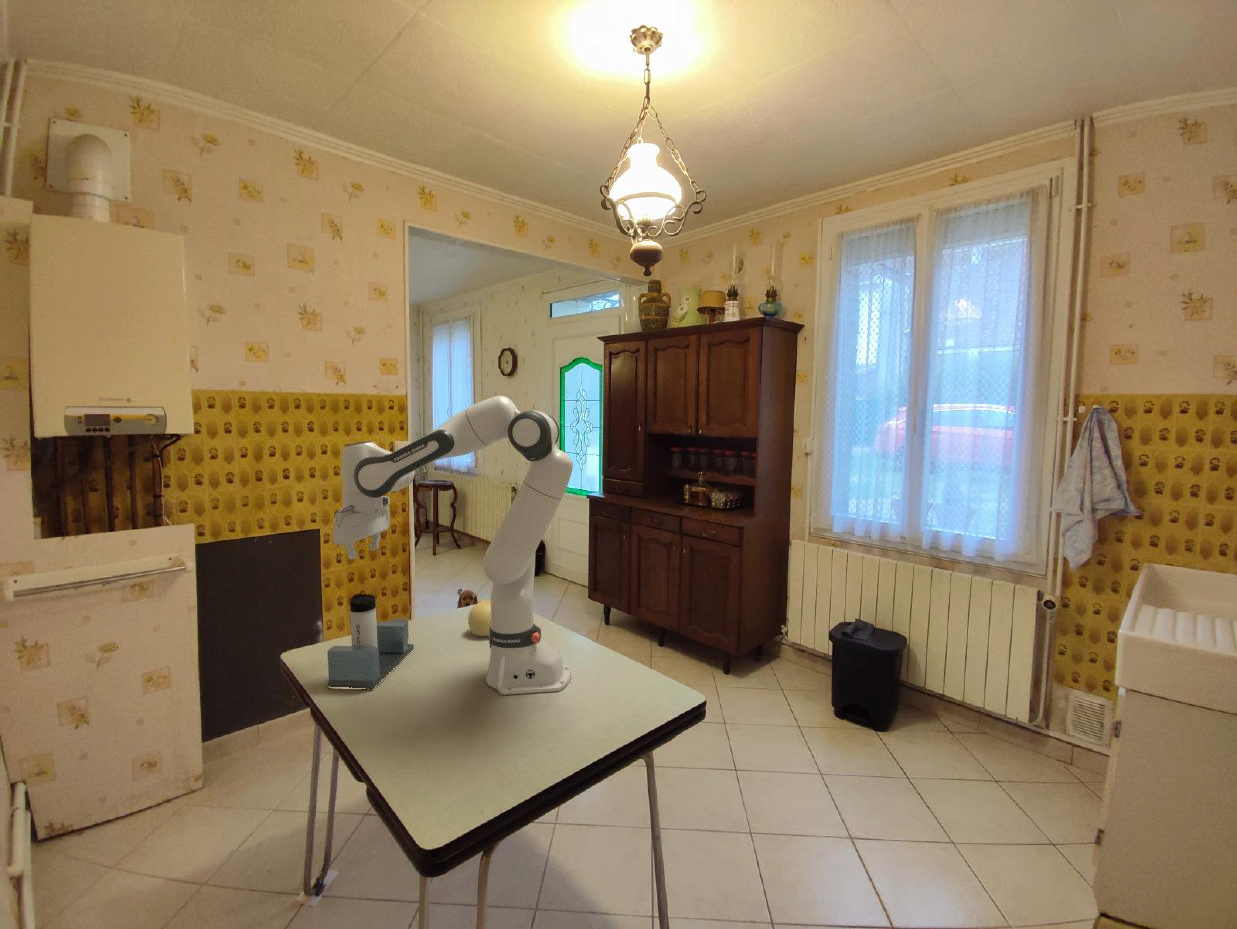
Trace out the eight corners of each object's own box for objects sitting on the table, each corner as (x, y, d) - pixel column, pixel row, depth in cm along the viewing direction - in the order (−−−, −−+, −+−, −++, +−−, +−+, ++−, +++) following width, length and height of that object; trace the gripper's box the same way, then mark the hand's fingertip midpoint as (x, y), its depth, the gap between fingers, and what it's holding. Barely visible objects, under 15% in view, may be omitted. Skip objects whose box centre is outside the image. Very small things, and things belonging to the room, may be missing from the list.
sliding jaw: (381, 636, 171) (380, 612, 171) (419, 637, 171) (418, 612, 170) (363, 651, 161) (361, 625, 160) (403, 653, 160) (402, 626, 159)
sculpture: (513, 630, 182) (513, 598, 181) (487, 643, 172) (486, 609, 171) (488, 623, 188) (487, 592, 187) (461, 635, 178) (460, 602, 177)
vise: (374, 649, 167) (373, 617, 166) (413, 650, 166) (412, 618, 166) (328, 689, 143) (326, 651, 142) (373, 690, 143) (371, 652, 142)
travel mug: (371, 661, 155) (367, 591, 153) (382, 668, 151) (379, 596, 149) (348, 669, 150) (344, 596, 148) (359, 676, 146) (356, 602, 144)
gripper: (347, 509, 137) (350, 564, 138) (393, 497, 157) (395, 545, 159) (324, 509, 138) (327, 563, 139) (372, 497, 158) (374, 544, 159)
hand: (363, 554), depth 149 cm, fingers open, 8 cm apart
